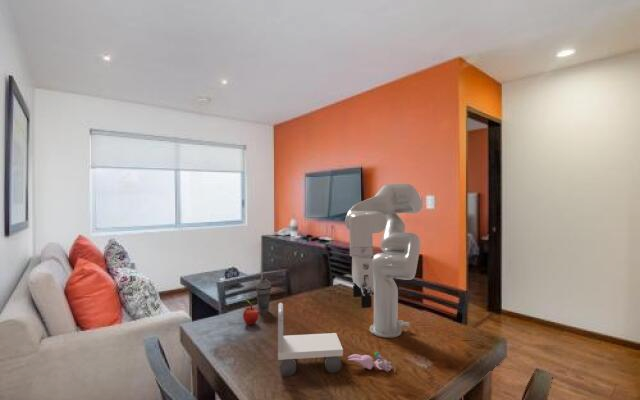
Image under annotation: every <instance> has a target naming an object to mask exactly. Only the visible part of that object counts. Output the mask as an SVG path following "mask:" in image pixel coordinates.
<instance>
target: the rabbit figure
mask: <svg viewBox="0 0 640 400" xmlns="http://www.w3.org/2000/svg"><path fill="white" fill-rule="evenodd" d="M380 353H381V352H379V351H375V352H374V358H375V359H376V360H375V361H374V358H373V357H372V356H371V355H369V354H364V355H361V354H356V353H354V354H351V355H349V356H348V357H347V358H348V359H347V361H353V362H355V363H359V364H361V366H362V367H363V368H366V369H368V370H372V369H373V368H374V367H376V368H377V369H379V370H381V371H382V370H383V371H385V372H390V371H391V369H393V370H394V371H393V372H394V373H395V372H396V366H395V364H396V362H393V361H388V360H387V359H384V358H383V357H382V356H381V355H379V354H380Z"/></svg>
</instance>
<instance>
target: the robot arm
mask: <svg viewBox="0 0 640 400" xmlns="http://www.w3.org/2000/svg"><path fill="white" fill-rule="evenodd" d="M422 207H423V201H422V198H421V195H420V193H419V192H418V190H417V189H416V187H415V186H414V185H412V184H410V183H388V184H385V185H383V186H381V188H380V189H379V190H378V191H377V193H376V194H375V195H374V196H373V197H370V198H367V199H365V200H362V201H359V202H357V203H355V204H354V205H352V207H351V208H350V209H349V210H348V211H347V213H346V215H345V219H344V225H345V227H346V229H347V230H348V231H349V256H350V257H352V258H351V279H352V296H353V298H360V301H361V305H360V308H361V309H366V308H367V309H370V308H372V292H373V324H371V325H370V326H369V331H370V333H371V334H372V335H374V336H376V337H379V338H388V339H389V338H391V339H392V338H397V337H399V336H401V335H402V331H403V330H402V329H403V328H410V327H411V326H410V322H409V321H404V320H399V319H398V318H399V317H398V314H399V311H398V310H399V309H398V306H399V305H398V303H399V302H398V301H399V298H398V297H399V291H398V289H399V287H398V285H397V283H396V282H395V280H394V279H397V280H398V279H399V280H404V281H405V280H406V281H407V280H408V281H409V280H410V281H411V280H413V279H414V278H415V276H416V273H417V268H418V262H419V259H420V258H419V257H420V256H419V255H420V250H421V240H420V237H419V235H417V234H416V233H414V232H407V231H406V232H405V230H406V223H405V222H404V220H403V219H402V218H401V216H399V215H398V214H418V213H419V212H420V211H421V209H422ZM381 232H383V233H382V235H381V240H380V250H381V251H382V252H378V253H376V254H373V253H374V251H373V250H374V249H373V248H374V247H373V243H374V242H373V240H374V239H373V234H379V233H381ZM372 288H373V291H372Z"/></svg>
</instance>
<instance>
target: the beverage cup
mask: <svg viewBox="0 0 640 400" xmlns="http://www.w3.org/2000/svg"><path fill="white" fill-rule="evenodd" d="M260 274H261V275H260V276H261V279H259V280H258V281H256V285H255V291H256V296H257V297H256V298H257V299H256V300H257V308H258V309H257V310H258V312H259V314H262V313H264V314H267V312H268V313H269V309H270V302H271V301H270V300H271V290H272V284H271V282H270V280H268V279H267V278H264V277H263V270H262V269H260Z"/></svg>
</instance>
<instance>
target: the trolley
mask: <svg viewBox="0 0 640 400" xmlns="http://www.w3.org/2000/svg"><path fill="white" fill-rule="evenodd" d="M277 311H278V312H277V360H278V361H280V362H279V372H280V374H282V376H284V377H291V376H293V375H294V374H295V373H296V371H297V363H296V360H298V359H299V360H301V359H313V358H314V359H315V358H325V360H324V366H325V369H326V371H327V372H329V373H330V374H336V373H338V372H339V371H340V370H341V368H342V360H341V358H340V357H344V348H343V347H342V344H341V341H340V339H339V337H338V334H337V333H336V332H332V333H331V332H330V333H328V332H327V333H311V334H310V333H309V334H291V335H284V304H283V303H282V302H279V303H278V304H277Z"/></svg>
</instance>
